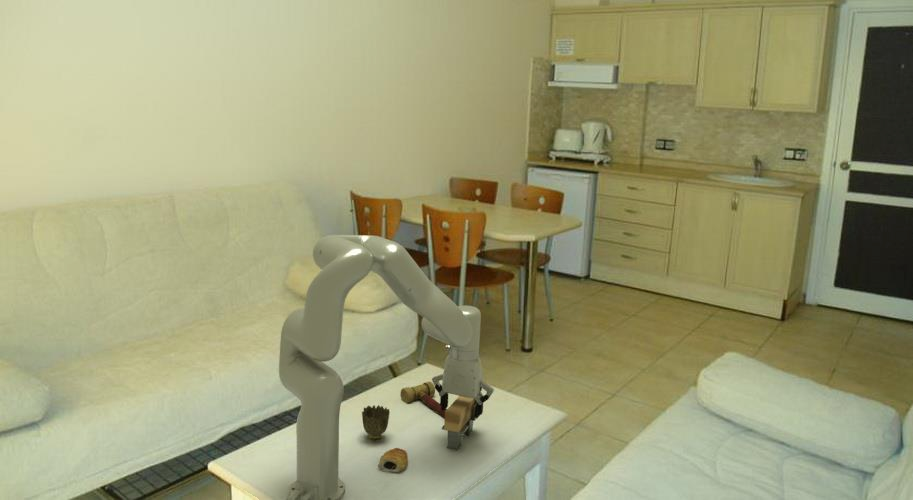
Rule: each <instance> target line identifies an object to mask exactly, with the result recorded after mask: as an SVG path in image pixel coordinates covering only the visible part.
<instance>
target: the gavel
mask: <svg viewBox="0 0 913 500" xmlns="http://www.w3.org/2000/svg"><path fill="white" fill-rule="evenodd" d="M435 393H436V389H435V385H434V384H433V381H426V382H423V383H422V384H419V385H414V386H411V387H410V386H408V387H406V386H405V387H403V388H401V389H400V397H401V400H402V402H404V403H405V404H409V403H413V401H417V400H419V399H420V400H421V401H422V402H423V403H424V404H425V405H426V406H428V407H429V408H430V409H432V410H433V411H434V412H435V413H437V414H438V415H439V416H441V417H442V418H443V419H445V411H446V410H447V409H448V408H446V409H445V410H444V411H442V410H441V406H440V403H439V402H438V401H437V400H436V399H435V398H433V397H434V396H435V395H436V394H435Z"/></svg>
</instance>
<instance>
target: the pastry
mask: <svg viewBox="0 0 913 500" xmlns="http://www.w3.org/2000/svg"><path fill="white" fill-rule="evenodd" d="M408 459H409V458H408V453H407V451H406V449H402V448H399V447H395V448H391V449H389V450H386V452H384V453H383V455H381V456H380V459H379V463H378V465H377V467H378V468H379V470H380V471H382V472H388V473H401V472H403V471H405V470H406V467H407V464H408Z"/></svg>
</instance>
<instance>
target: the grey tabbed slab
mask: <svg viewBox="0 0 913 500" xmlns="http://www.w3.org/2000/svg"><path fill="white" fill-rule="evenodd" d="M467 429H468V425H464V426H463V427H462V429H461V430H460V431H459V432H454V431H450V430H446V429H444V425H442V426H441V430H443V431H447V438H446V449H448V450H452V451H457V452H458V450H460V448H461V447H462V442H463V435H462V434H464V432H465V431H466V430H467Z"/></svg>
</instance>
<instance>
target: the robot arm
mask: <svg viewBox="0 0 913 500" xmlns="http://www.w3.org/2000/svg"><path fill="white" fill-rule="evenodd" d="M409 253H410V252H408V250H406V248H405V247H404V246H403V245H401V244H399V243H398V242H397V241H393V240H390V239H387V238H385V237H382V236H379V235H373V234H372V235H370V234H369V235H365V234H364V235H363V234H359V235H358V234H328V235H325V236H323V237H321V238H320V239H318V241H317V242H316V243H315V244H314V246H313V250H312V258H313V261H314V263H315V264H316V266H317V267H318V268H319V269H320V270H321V271H320V272H319V273H318V274H316V276H315V277H314V278H313V279H312V281H311V282H310V283H309V285H308V287H307V289H306V290H307V291H306V295H305V301H304V302H305V303H304V307H301V308H297V309H294V310H293V311H291V312H290V314H288V316H287V317H286V319H285V320H284V322H283V324H282V327H281V332H280V343H279V356H278V357H279V358H278V359H279V360H278V361H279V363H278V375H279V379H280V380H279V381H280V382H281V385H282V386H283V387H284V388H285V389H286V390H287V391H289V393H291V394H292V395H294V396H295V397H296V398H297V399H298V400H299V401H300V410H299V412H298V414H297V418H296V480H295V481H294V482H293V483H292V484H291V485H290V488H289V495H288V496H287V498H286V500H341V498H343V496H344V495H345V492H346V485H345V482H344V481H343V480H342V479H340V478H339V465H340V464H339V459H340V458H339V457H340V455H339V454H340V453H339V452H340V449H339V448H340V446H339V445H340V413H341V412H340V411H341V406H342V405H341V404H342V402H343V401H342V400H343V397H344V390H345V389H344V388H345V387H344V383H343V379H342V378H341V376H340V375H339V373H338V372H337V371H336V370H335V369H333V368H332V367H331V366H329V365H328V364H326V363H325V362H329V361H332V360H333V359H334V358H336V356H337V355H338V353H339V351H340V349H341V344H342V335H343V334H342V333H343V320H344V310H345V303H346V299H347V297H348V295H349V293H350V292H351V291H352V289H353V288H354V287H355V286H357V285H358V284H359V283H360V282H361V281H363V280H364V279H365V278H366V277H367V276H368V275H369V274H370V272H373V273H375V274H377V275H378V276H379V277H380V278H381V279H382V280H383V282H385V284H386V285H387V286H388V287H389V288H390V290H392V292H393V293H394V294H395V296H396V297H397V298H398V299H399V300H400V302H401V303H402V304H403V305H405V306H406V307H407V308H408V309H410V310H411V311H413V312H414V313H416V314H418V315H420V316H421V317H422V320H421V328H422V330H423V332H424V333H425V334H426V335H427V336H429V337H430V338H432V339H435V340H437V341H440V342H442V343H444V344H446V345H445V350H446V351H448V352H449V353H448V355H447V356H446V358H445V362H444V366H443V367H444V369H443V373H440V374H439V375H435V376H433V377H432V378H431V382H432V383H433V385H434V387H435V391H436V392H437V393H438V396H440V398H439V399H440V400H439V402H440V406H441V410H442V411H444V410H445V409H448V408H449V407H448V406H449V395H450V394H451V395H455V396H458V397H459V396H463V397H468V398H475V400H476V401H477V404H476V406H475V418H477V419H478V418H479V417H480V416H481V415H483V412H484V411H483V410H484V403H485V402H486V401H488V400H489V399H490V398H491V396H492V394H493V393H494V391H495V389H494V387H492V386H490V385H489V384H488V383H487V382H485V381H484V380H483V367H482V360H481V357H479V353H480V337H481V322H482V321H481V320H482V314H481V311H480V309H479V308H478V307H476V306H473V305H459V306H458V305H457V304H456V303H455V302H454V301H453V300H452V299H451V298H450V297H449V296H447V295H446V294H445V293H444V292H443V291H442V290H441V289H440V288H439V287H438V286H436V284H434V283H433V282H432V281H431V280H430V279H429V278H428V277H427V275H426V274H425V273H424V271H423V270H422V269H421V268H420V266H419V264H417V262H416V261H415V260H414V259H413V257H412V256H411V255H410V254H409ZM440 381H441V382H442V383H440ZM482 390H485V392H486V394H485V395H483V393H482Z"/></svg>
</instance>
